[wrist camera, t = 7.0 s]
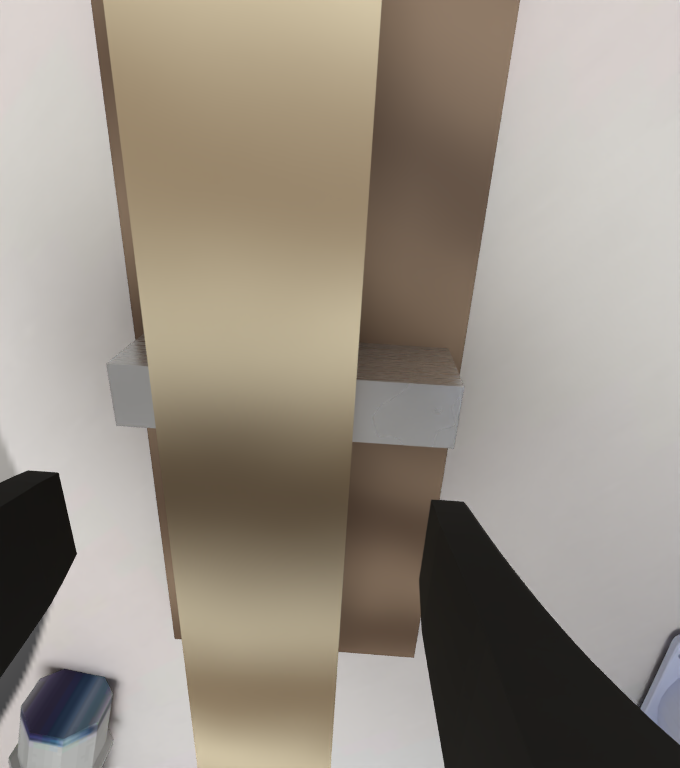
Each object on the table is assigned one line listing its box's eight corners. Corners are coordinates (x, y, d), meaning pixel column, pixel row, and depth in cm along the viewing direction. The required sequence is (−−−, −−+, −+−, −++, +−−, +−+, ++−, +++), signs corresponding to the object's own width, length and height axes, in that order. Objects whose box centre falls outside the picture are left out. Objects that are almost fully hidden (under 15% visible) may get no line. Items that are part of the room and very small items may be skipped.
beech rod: (335, 687, 19) (327, 810, 16) (232, 678, 20) (201, 799, 16) (391, -158, 9) (405, -354, 6) (177, -165, 9) (58, -364, 6)
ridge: (440, 402, 17) (453, 448, 15) (155, 383, 18) (116, 425, 15) (448, 348, 17) (464, 386, 14) (148, 329, 17) (106, 363, 14)
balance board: (412, 638, 24) (413, 657, 23) (182, 620, 24) (174, 638, 23) (538, -177, 12) (552, -203, 11) (84, -191, 12) (62, -219, 11)
